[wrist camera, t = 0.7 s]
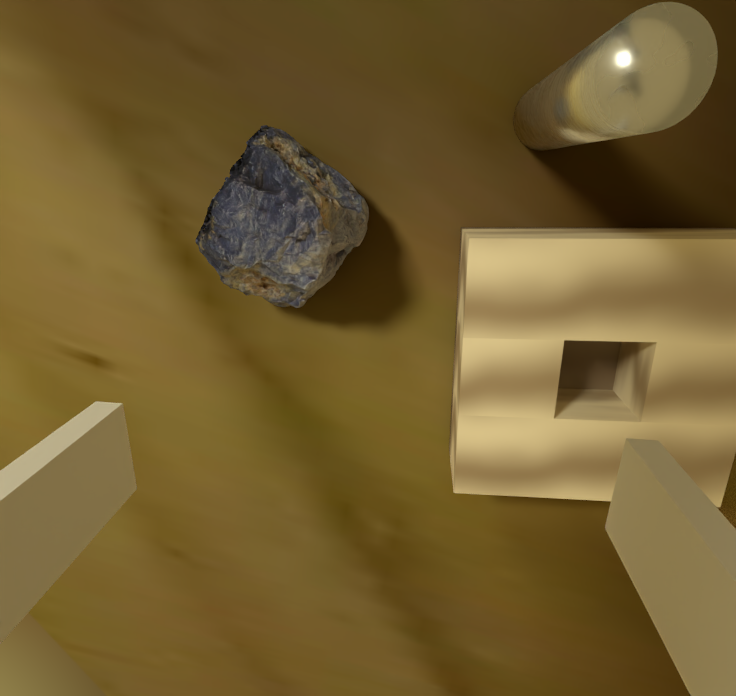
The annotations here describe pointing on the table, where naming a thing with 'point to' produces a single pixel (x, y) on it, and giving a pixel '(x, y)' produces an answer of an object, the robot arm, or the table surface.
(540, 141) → the pin
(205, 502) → the table surface
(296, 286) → the rock
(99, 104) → the table surface
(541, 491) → the bore block
